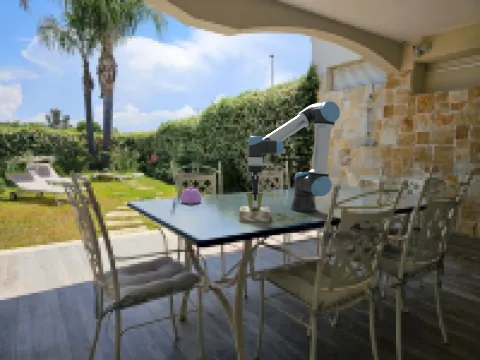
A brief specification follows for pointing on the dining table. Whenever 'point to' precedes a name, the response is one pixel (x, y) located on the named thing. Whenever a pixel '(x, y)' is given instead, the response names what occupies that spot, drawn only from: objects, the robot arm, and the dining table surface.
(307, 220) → the dining table surface
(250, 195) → the plant pot
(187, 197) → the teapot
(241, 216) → the birch pedestal block
